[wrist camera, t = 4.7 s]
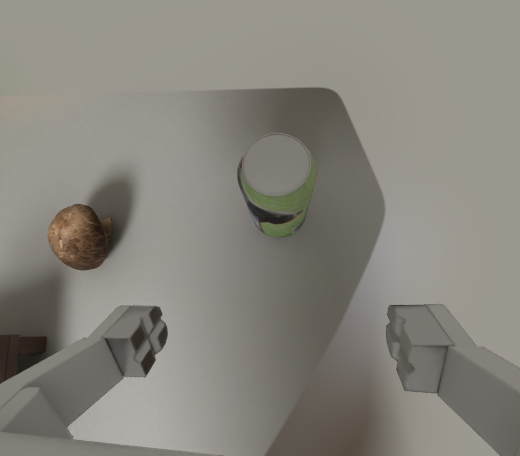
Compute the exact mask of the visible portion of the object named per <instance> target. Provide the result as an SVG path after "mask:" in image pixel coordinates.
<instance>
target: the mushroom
mask: <svg viewBox="0 0 520 456" xmlns="http://www.w3.org/2000/svg"><path fill="white" fill-rule="evenodd" d="M111 231H112V219H111V216H108V217H106V218H104V219H101V220H99V218H98V216H97V215H96V214H95V212H94V211H93V210H92V208H90V207H89V206H85V205H81V204H75V205H72V206H70V207H67V208H65V209H63V210H61V211H60V212H59V213H58V214H57V215H56V217H55V218H54V219H53V221H52V222H51V224H50V227H49V230H48V239H49V243H50V246H51V248H52V250H53V252H54V253H55V254H56V256H57V257H58V258H59V259H60V260H61V261H62V262H63V263H64V264H66V265H68V266H70V267H72V268H74V269H77V270H89V269H94V268H97V267H99V266H100V265H101V264H102V263H103V262H104V260H105V259H106V258H107V252H108V245H107V241H108V240H109V239H110V237H111Z"/></svg>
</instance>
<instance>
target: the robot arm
mask: <svg viewBox="0 0 520 456" xmlns="http://www.w3.org/2000/svg"><path fill="white" fill-rule="evenodd" d="M387 315H388V318H389V320H390V323H389V324H388V325H387V326H386V339H387V344H388V348H389V352H390V354H391V357H392V358H394V359H395V360H396V361H397V369H396V370H397V372H398V375H399V377H400V380H401V382H402V385H403V387H404V390H405V391H413V392H425V393H438V396H439V397H440V398H441V399H442V400H443V401H444V402H445V403H446V404H447V405H449V406H450V407H451V408H452V409H453V410H454V411H455V412H456V413H457V414H458V415H459V416H460V417H461V418H462V419H463V420H464V421H465V422H466V423H467V424H468V425H469V426H470V427H471V428H472V429H473V430H474V431H475V432H476V433H477V434H479V436H481V437H482V438H483V439H484V440H485V441H486V442H487V443H488V444H489V445H490V446H491V447H492V448H493V449H494V450H495V451H496V452H497V453H498V454H499V455H500V456H520V368H519V367H517V366H516V365H514V364H512V363H510V362H509V361H507V360H505V359H504V358H502V357H500V356H498V355H497V354H495V353H493V352H492V351H490V350H488V349H486V348H485V347H477V346H476V344H475V343H474V342H473V341H472V339H471V338H470V337H469V336H468V334H467V333H466V332H465V330H464V329H463V328H462V327H461V325H460V324H459V323H458V322H457V320H456V319H455V318H454V317H453V315H452V314H451V313H450V312H449V311H448V309H447V308H446V307H445V306H444V305H442V304H427V305H426V304H424V305H390V306H389V307H388V313H387ZM161 316H162V312H161V309H160V307H157V306H134V305H133V306H123V305H122V306H119V307H117V308H116V309H115V310H114V311H113V312H112V313H111V314H110V315H109V316H108V317H107V318H106V319H105V320H104V322H103V323H102V324H101V325H100V326H99V327H98V328H97V329H96V330H95V331H94V332H93V333H92V334H91V335H90V336H89V337H88V338H83V339H81V340H79V341H77V342H75V343H74V344H72V345H70V346H68V347H66V348H64V349H63V350H61V351H59V352H57V353H55V354H53V355H52V356H50V357H48V358H46V359H44V360H43V361H41V362H39V363H37V364H35V365H33V366H32V367H30V368H28V369H26V370H24V371H23V372H21V373H19V374H17V375H15V376H13V377H12V378H10V379H8V380H6V381H4V382H2V383H1V384H0V456H222V455H213V454H204V453H194V452H185V451H176V450H166V449H157V448H148V447H138V446H129V445H120V444H111V443H101V442H92V441H83V440H74V439H73V436H72V435H71V433H70V432H69V430H68V429H67V427H68V426H69V425H70V424H71V423H72V422H73V421H75V420H76V419H77V418H78V417H79V416H80V415H82V414H83V413H84V412H85V411H86V410H87V409H88V408H90V407H91V406H92V405H93V404H94V403H95V402H97V401H98V400H99V399H100V398H101V397H102V396H103V395H105V394H106V393H107V392H108V391H109V390H110V389H112V388H113V387H114V386H115V385H116V384H117V383H119V382H120V381H121V380H122V379H123V377H146V376H147V374H148V372H149V371H150V369H151V367H152V366H153V364H154V362H155V361H156V359H155V354H157V353H158V352H159V351H161V350H162V349H163V347H164V345H165V343H166V340H167V336H168V331H167V326H166V323H165V322H163V321H162V320H161Z"/></svg>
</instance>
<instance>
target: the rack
mask: <svg viewBox="0 0 520 456" xmlns="http://www.w3.org/2000/svg"><path fill="white" fill-rule="evenodd" d="M46 338H47V337H46V336H43V337H20V335H0V384H1V383H2V382H4V381H6V380H8V379H10V378H12V377H13V376H15V375H16V372H17V363H18V357H22V356H33V355H36V354H39V353H42V352H45V351H46Z"/></svg>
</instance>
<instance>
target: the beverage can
mask: <svg viewBox="0 0 520 456" xmlns="http://www.w3.org/2000/svg"><path fill="white" fill-rule="evenodd" d="M316 175H317V171H316V164H315V161H314V158H313V156H312V154H311V153H310V152H309V150H308V149H307V148H306V147H305V145H304V144H303V143H302V142H301V141H300V140H299V139H297V138H295V137H294V136H291V135H288V134H284V133H271V134H266V135H264V136H261V137H259V138H258V139H256V140H255V141H253V142H252V143H251V144H250V145H249V146H248V148H247V149H246V151H245V153H244V155H243V156H242V158H241V160H240V163H239V166H238V173H237V178H238V183H239V186H240V189H241V191H242V194H243V196H244V199H245V201H246V204H247V206H248V208H249V211H250V213H251V216H252V218H253V220H254V223H255V224H256V226H257V227H258V228H259V229H260V230H261V231H262V232H263V233H265V234H267V235H269V236H273V237H284V236H288V235H291V234H292V233H294V232H296V231H297V230H298V229H299V228H300V227H301V225H302V224H303V222H304V220H305V217H306V213H307V210H308V206H309V203H310V199H311V196H312V192H313V189H314V185H315V182H316Z"/></svg>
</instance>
